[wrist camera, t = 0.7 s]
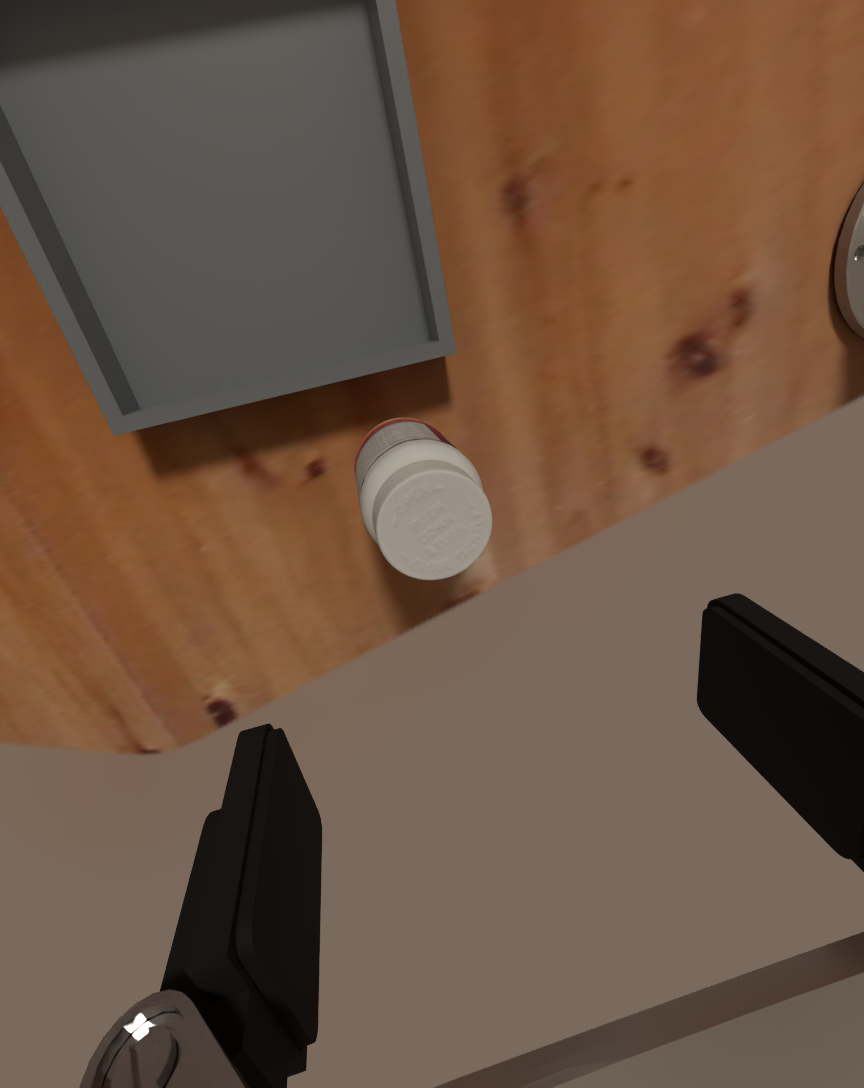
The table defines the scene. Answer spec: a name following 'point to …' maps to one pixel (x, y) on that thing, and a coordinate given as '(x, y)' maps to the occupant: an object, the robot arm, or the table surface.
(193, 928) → the robot arm
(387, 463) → the pill bottle
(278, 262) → the tray
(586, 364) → the table surface
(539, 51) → the table surface
